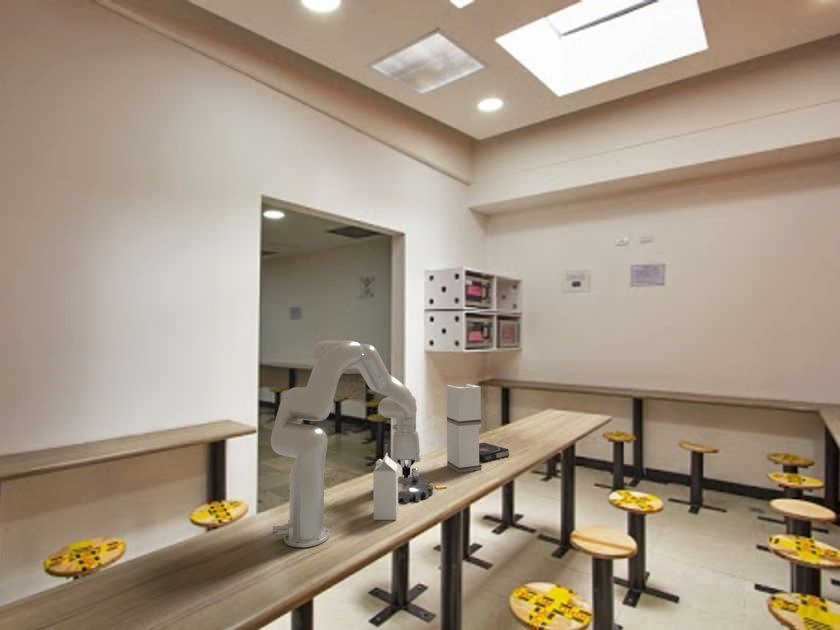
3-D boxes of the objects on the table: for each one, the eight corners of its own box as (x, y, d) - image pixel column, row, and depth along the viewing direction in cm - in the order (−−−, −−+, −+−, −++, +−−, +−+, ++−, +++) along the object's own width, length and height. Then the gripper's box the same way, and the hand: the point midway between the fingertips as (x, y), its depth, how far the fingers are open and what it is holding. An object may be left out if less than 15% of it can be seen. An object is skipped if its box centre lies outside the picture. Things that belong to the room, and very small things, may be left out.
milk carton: (398, 511, 147) (397, 452, 148) (396, 520, 140) (395, 458, 141) (376, 511, 148) (376, 452, 149) (373, 520, 141) (373, 458, 141)
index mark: (436, 489, 168) (436, 487, 168) (434, 487, 170) (434, 486, 170) (446, 488, 170) (446, 486, 170) (444, 486, 171) (444, 485, 171)
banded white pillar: (481, 469, 192) (480, 386, 194) (459, 472, 188) (458, 387, 190) (468, 462, 203) (467, 384, 204) (447, 465, 199) (446, 385, 200)
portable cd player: (483, 464, 202) (483, 455, 202) (458, 456, 216) (458, 447, 216) (509, 458, 212) (509, 449, 212) (483, 450, 225) (483, 442, 226)
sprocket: (360, 493, 164) (360, 475, 164) (400, 478, 181) (399, 461, 181) (407, 507, 150) (407, 487, 150) (445, 489, 167) (444, 471, 168)
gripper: (385, 430, 170) (385, 480, 169) (425, 430, 169) (425, 480, 168) (388, 426, 177) (388, 473, 176) (426, 426, 176) (426, 474, 175)
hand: (406, 477), depth 172 cm, fingers closed
